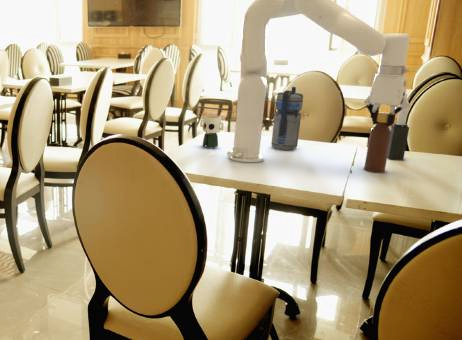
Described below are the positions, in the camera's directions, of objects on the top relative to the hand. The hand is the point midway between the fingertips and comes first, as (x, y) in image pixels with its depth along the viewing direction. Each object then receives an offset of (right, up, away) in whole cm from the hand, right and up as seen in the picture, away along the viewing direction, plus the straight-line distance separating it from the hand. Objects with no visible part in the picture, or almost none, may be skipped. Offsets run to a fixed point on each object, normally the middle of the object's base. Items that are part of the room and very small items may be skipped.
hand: (382, 124), depth 178 cm
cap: (0, +1, 0) cm, 1 cm away
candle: (+17, -12, +22) cm, 30 cm away
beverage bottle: (-21, -7, +36) cm, 42 cm away
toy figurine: (-51, -7, +36) cm, 63 cm away
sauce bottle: (0, -16, +4) cm, 17 cm away
